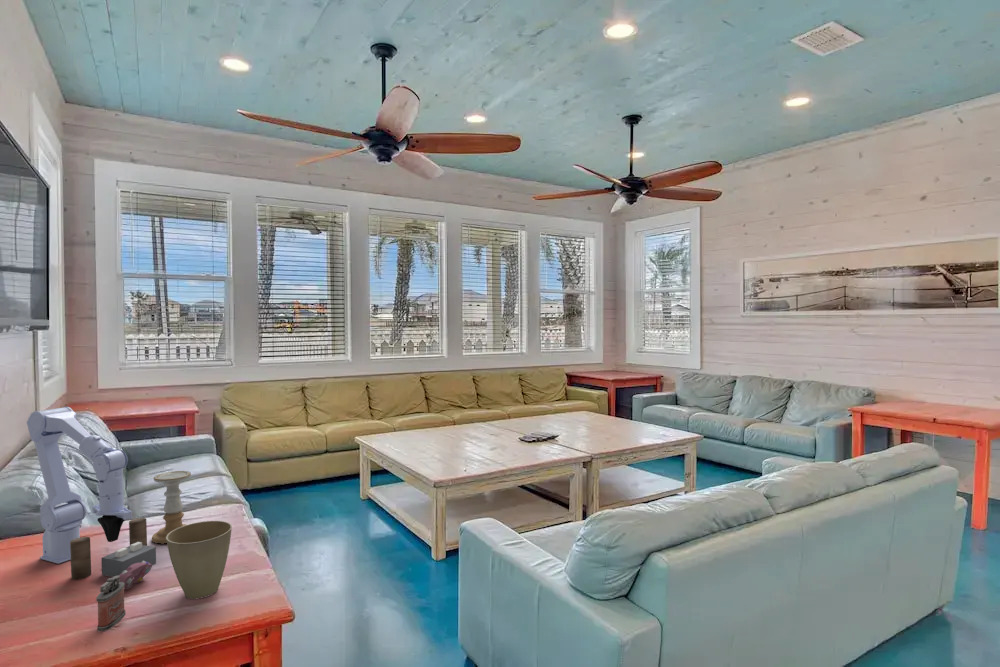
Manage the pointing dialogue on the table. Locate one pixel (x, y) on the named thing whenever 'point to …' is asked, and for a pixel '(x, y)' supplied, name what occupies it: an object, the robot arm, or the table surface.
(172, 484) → the candle holder
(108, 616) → the lighter
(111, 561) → the block
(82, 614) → the table surface
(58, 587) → the table surface
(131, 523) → the walnut post
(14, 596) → the table surface
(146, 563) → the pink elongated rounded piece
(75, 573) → the walnut post
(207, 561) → the plant pot
